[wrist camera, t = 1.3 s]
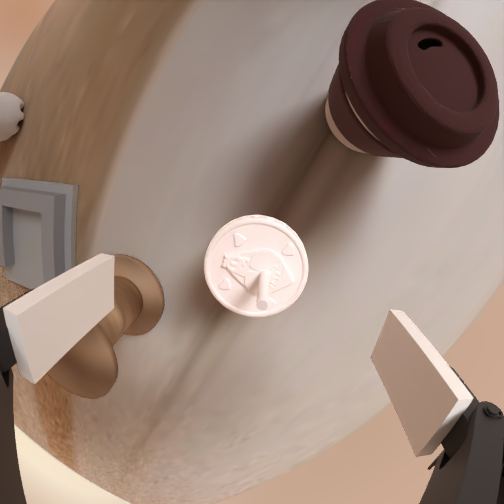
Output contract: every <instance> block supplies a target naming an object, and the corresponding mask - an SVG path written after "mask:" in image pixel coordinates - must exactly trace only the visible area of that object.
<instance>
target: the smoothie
mask: <svg viewBox="0 0 504 504" xmlns="http://www.w3.org/2000/svg"><path fill="white" fill-rule="evenodd" d="M204 275H205V279H206V282H207V285H208V287H209V289H210V291H211V293H212V294H213V296H214V297H215V298H216V299H217V300H218V301H219V302H220V303H221V304H222V305H223V306H224V307H226V308H227V309H229V310H231V311H233V312H235V313H237V314H240V315H244V316H249V317H265V316H270V315H274V314H277V313H279V312H281V311H283V310H285V309H286V308H288V307H289V306H290V305H292V304H293V303H294V302H295V301H296V300H297V298H298V297H299V296H300V294H301V293H302V291H303V289H304V287H305V284H306V281H307V277H308V260H307V254H306V251H305V248H304V245H303V243H302V241H301V240H300V238H299V237H298V235H297V234H296V232H295V231H294V230H292V229H291V228H290V227H289V226H288V225H287V224H285V223H284V222H282V221H279V220H277V219H275V218H273V217H269V216H263V215H247V216H242V217H240V218H237V219H234V220H231V221H230V222H229V223H227V224H226V225H224V226H223V227H222V228H220V229H219V231H218V232H217V233H216V234H215V236H214V237H213V238H212V240H211V242H210V244H209V246H208V249H207V251H206V254H205V259H204Z"/></svg>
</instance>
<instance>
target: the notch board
mask: <svg viewBox="0 0 504 504" xmlns="http://www.w3.org/2000/svg"><path fill="white" fill-rule="evenodd" d="M78 187H79V185H74V184H66V183H57V182H48V181H39V180H29V179H18V178H2V186H1V187H0V266H3V267H4V271H5V278H6V279H8V280H10V281H12V282H15V283H17V284H19V285H21V286H24V287H26V288H28V289H34V288H37V287H39V286H41V285H43V284H45V283H46V282H48V281H50V280H52V279H53V278H55V277H57V276H59V275H61V274H63V273H64V272H66V271H68V270H70V269H72V268H74V267H76V217H77V199H78Z"/></svg>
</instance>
